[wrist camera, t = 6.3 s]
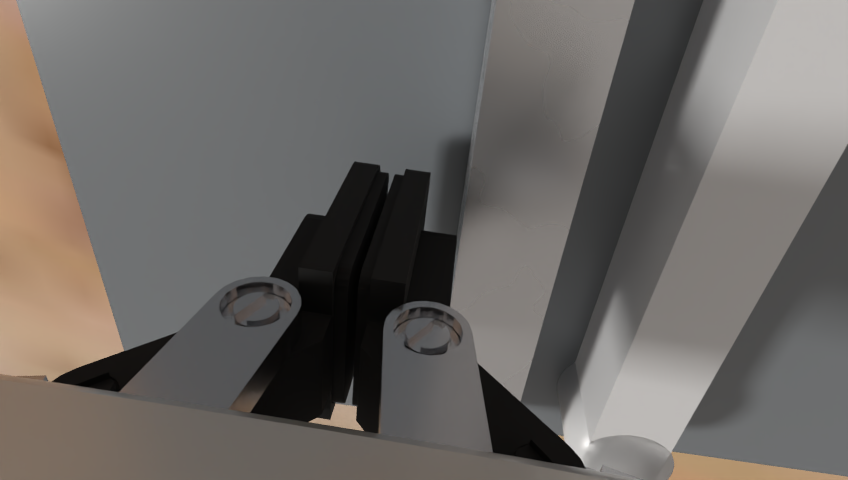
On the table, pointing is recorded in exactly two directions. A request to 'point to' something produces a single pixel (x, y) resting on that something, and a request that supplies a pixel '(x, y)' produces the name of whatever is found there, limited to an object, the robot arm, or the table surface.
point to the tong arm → (529, 167)
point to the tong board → (447, 161)
